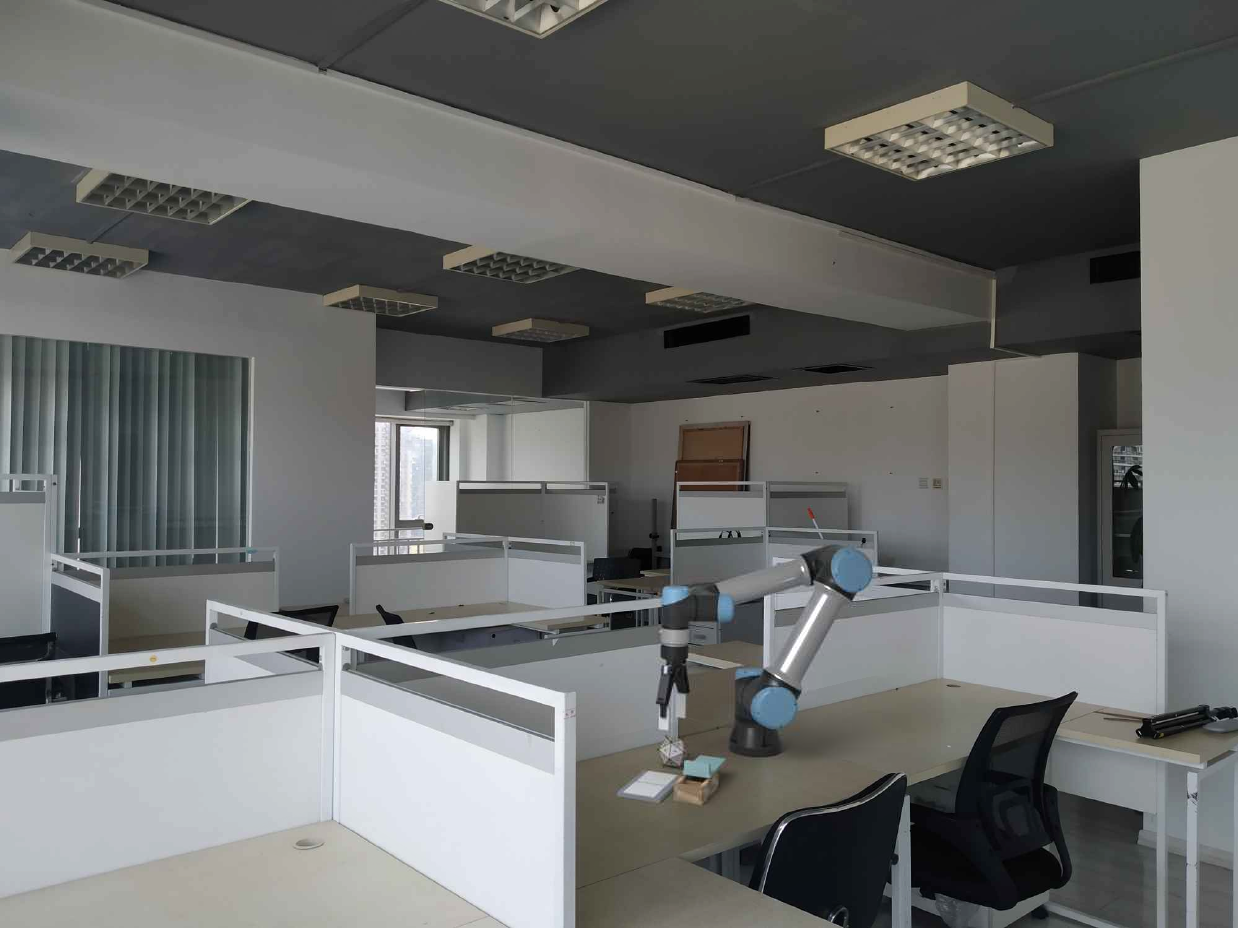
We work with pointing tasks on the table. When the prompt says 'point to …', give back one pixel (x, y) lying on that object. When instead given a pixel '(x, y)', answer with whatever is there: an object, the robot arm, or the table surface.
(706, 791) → the box
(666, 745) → the game die
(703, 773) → the lid
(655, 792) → the board
